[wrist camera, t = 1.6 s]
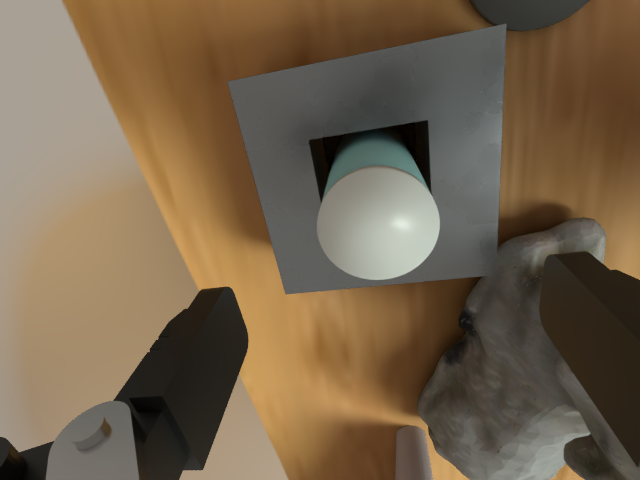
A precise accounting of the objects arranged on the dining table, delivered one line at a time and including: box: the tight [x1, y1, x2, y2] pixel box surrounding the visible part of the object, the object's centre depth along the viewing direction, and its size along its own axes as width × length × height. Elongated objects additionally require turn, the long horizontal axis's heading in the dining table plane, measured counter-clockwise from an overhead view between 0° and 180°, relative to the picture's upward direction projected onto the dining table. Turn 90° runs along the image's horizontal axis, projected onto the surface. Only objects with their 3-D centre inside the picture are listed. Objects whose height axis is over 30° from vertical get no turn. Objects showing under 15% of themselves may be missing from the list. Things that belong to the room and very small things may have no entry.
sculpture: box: [417, 218, 640, 480], centre depth 21 cm, size 11×21×15 cm, turn 1°
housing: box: [227, 24, 507, 294], centre depth 20 cm, size 12×12×5 cm
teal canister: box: [317, 126, 440, 280], centre depth 18 cm, size 5×5×10 cm
